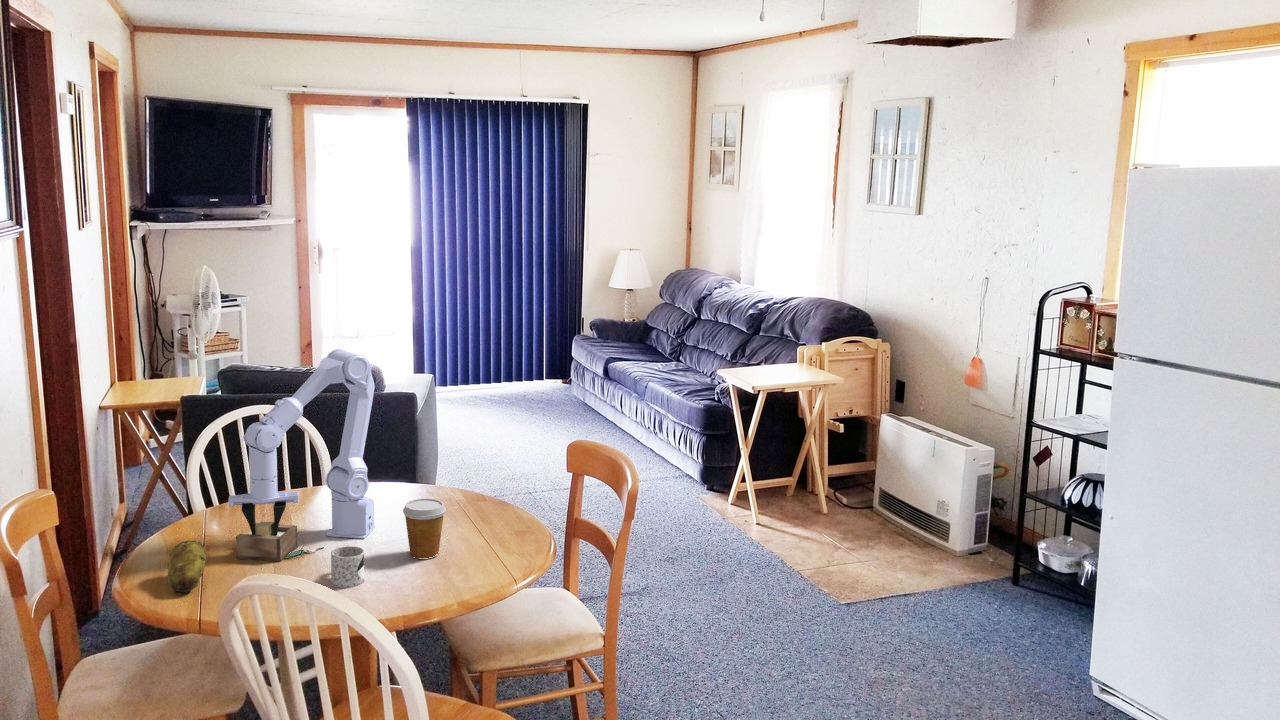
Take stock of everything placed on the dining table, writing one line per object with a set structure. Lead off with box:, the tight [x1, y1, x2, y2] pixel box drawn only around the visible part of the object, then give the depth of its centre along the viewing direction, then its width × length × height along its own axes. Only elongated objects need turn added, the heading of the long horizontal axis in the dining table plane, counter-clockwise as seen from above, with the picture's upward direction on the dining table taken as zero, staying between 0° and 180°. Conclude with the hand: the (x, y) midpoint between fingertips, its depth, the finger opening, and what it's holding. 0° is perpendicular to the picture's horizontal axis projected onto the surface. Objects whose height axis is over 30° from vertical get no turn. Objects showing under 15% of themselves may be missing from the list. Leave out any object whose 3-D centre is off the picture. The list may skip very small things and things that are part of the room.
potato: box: [167, 539, 207, 593], centre depth 198 cm, size 8×13×8 cm, turn 3°
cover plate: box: [247, 521, 286, 536], centre depth 216 cm, size 8×6×4 cm
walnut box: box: [235, 522, 298, 563], centre depth 216 cm, size 10×9×5 cm
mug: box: [330, 545, 365, 589], centre depth 204 cm, size 10×7×7 cm, turn 21°
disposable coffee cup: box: [402, 498, 447, 559], centre depth 219 cm, size 10×10×12 cm
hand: (265, 534), depth 216 cm, fingers closed on cover plate, 4 cm apart
